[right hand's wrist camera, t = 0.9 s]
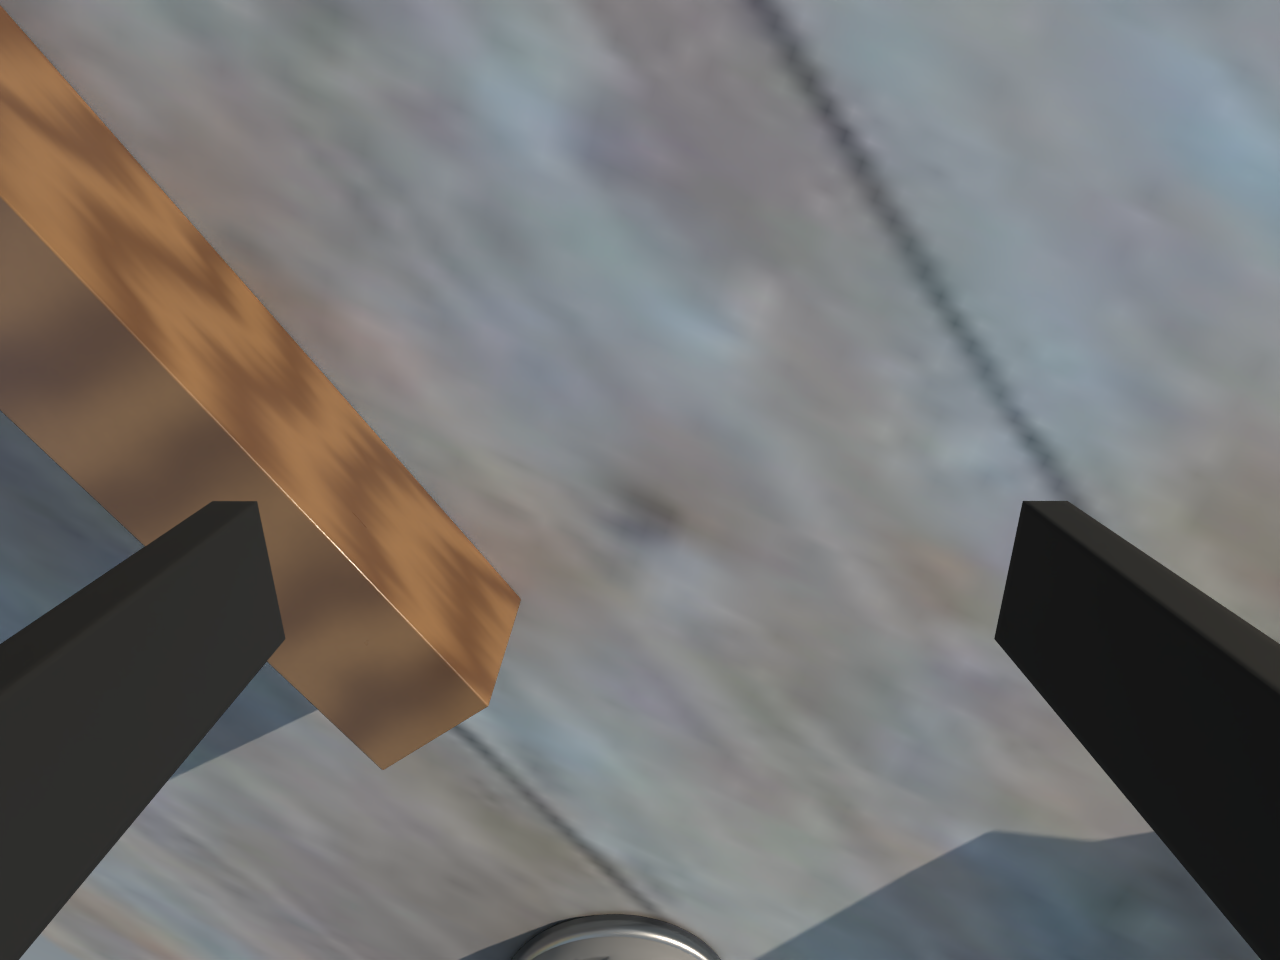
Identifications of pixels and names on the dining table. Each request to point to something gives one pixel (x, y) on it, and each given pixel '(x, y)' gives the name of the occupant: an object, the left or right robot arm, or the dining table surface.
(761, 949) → the dining table surface
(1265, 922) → the right robot arm
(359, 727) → the post
